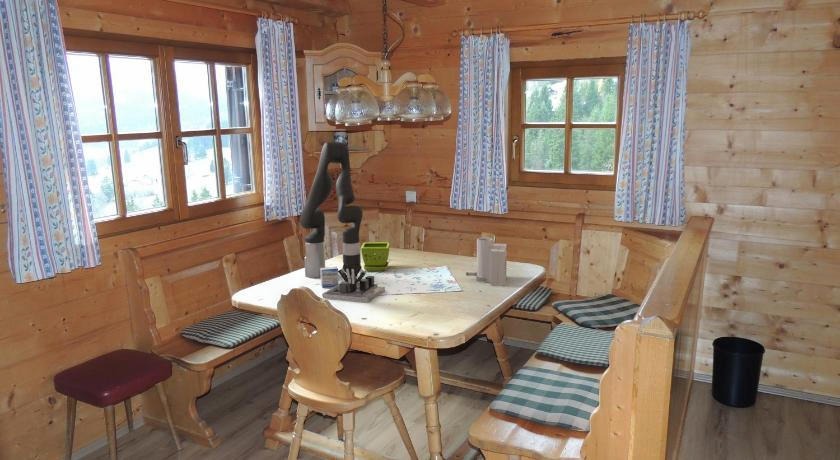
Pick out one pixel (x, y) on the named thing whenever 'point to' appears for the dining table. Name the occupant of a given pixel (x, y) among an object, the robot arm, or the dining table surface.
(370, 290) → the grey peg board
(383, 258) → the flower pot
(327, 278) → the medicine box
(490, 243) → the light grey tall pieces
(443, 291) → the dining table surface
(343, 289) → the breaker
